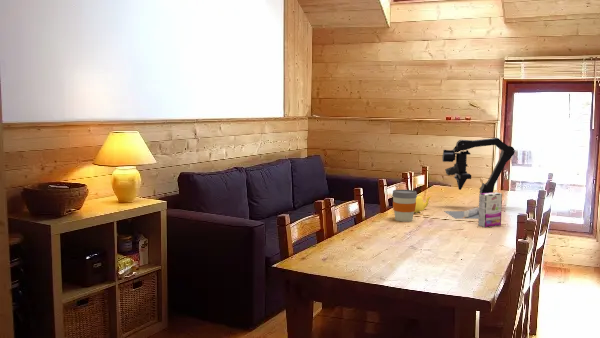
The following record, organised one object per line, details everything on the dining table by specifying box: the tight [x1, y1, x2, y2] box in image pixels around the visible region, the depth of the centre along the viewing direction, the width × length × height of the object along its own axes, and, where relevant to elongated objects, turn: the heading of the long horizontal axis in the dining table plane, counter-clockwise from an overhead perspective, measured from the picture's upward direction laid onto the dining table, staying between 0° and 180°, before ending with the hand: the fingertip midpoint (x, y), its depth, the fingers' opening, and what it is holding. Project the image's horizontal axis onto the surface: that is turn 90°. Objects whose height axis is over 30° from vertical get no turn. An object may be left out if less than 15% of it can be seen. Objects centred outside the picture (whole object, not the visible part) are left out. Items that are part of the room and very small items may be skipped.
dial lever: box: [464, 206, 479, 217], centre depth 307 cm, size 18×5×3 cm, turn 141°
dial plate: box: [443, 210, 479, 220], centre depth 309 cm, size 20×20×2 cm
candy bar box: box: [477, 191, 503, 228], centre depth 288 cm, size 11×5×16 cm, turn 117°
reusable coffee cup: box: [391, 189, 418, 223], centre depth 300 cm, size 12×13×15 cm
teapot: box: [414, 195, 432, 214], centre depth 323 cm, size 14×13×10 cm
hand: (459, 189), depth 327 cm, fingers closed
